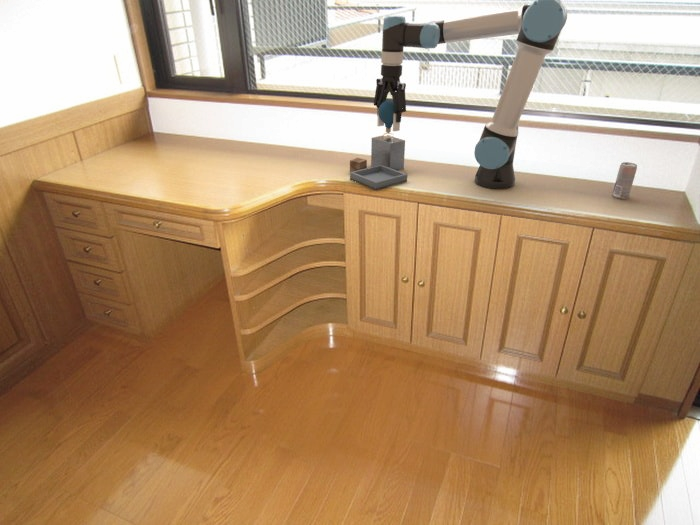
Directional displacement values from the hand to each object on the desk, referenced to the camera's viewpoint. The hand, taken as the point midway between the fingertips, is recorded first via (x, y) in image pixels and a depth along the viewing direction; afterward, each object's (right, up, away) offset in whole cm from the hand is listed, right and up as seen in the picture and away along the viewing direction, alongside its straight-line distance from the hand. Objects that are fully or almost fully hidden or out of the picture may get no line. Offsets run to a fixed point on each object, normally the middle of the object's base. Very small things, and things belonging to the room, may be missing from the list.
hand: (388, 128), depth 185 cm
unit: (+1, -10, +24) cm, 26 cm away
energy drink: (+83, -27, -8) cm, 88 cm away
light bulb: (0, -2, +1) cm, 2 cm away
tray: (-3, -19, +9) cm, 21 cm away
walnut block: (-11, -13, +19) cm, 26 cm away
